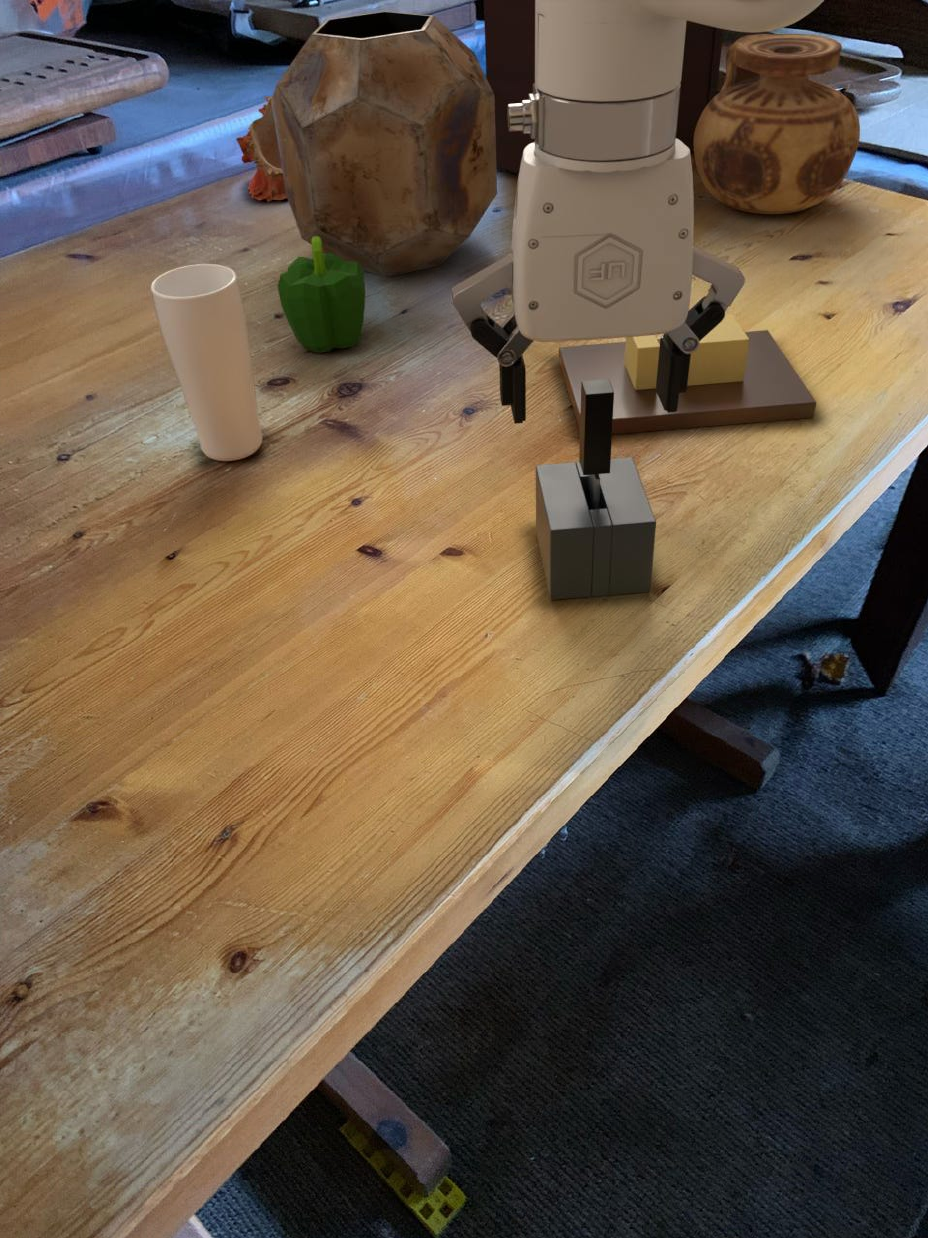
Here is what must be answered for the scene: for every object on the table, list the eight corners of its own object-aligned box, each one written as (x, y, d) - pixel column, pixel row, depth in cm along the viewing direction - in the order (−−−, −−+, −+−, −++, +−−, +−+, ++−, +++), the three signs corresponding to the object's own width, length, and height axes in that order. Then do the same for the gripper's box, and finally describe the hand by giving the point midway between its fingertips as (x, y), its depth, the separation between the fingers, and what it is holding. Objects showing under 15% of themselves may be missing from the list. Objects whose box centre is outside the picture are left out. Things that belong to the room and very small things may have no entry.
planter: (532, 236, 120) (530, 8, 105) (403, 313, 106) (378, 61, 90) (391, 206, 131) (369, -6, 115) (256, 271, 117) (212, 40, 101)
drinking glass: (239, 476, 84) (198, 304, 74) (177, 458, 87) (130, 289, 77) (287, 437, 88) (255, 269, 78) (227, 421, 91) (188, 257, 81)
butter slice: (645, 362, 92) (648, 320, 89) (657, 388, 88) (661, 346, 85) (624, 364, 92) (626, 322, 89) (635, 390, 88) (637, 348, 85)
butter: (728, 355, 92) (733, 313, 89) (743, 381, 88) (749, 338, 86) (663, 360, 92) (666, 319, 89) (675, 387, 88) (679, 344, 86)
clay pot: (892, 167, 123) (895, 5, 107) (801, 268, 119) (790, 115, 103) (760, 137, 134) (745, -15, 118) (673, 228, 130) (645, 85, 114)
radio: (711, 147, 142) (743, -167, 119) (575, 196, 130) (581, -142, 107) (614, 122, 153) (626, -169, 130) (481, 165, 141) (468, -147, 118)
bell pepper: (357, 364, 98) (344, 263, 91) (278, 359, 100) (259, 259, 93) (382, 326, 104) (371, 229, 97) (307, 322, 106) (292, 226, 99)
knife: (599, 547, 74) (607, 374, 65) (606, 573, 72) (615, 396, 62) (575, 549, 74) (579, 376, 65) (581, 575, 72) (587, 399, 62)
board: (765, 344, 96) (767, 329, 95) (813, 417, 86) (817, 402, 85) (558, 361, 96) (558, 346, 95) (581, 437, 86) (581, 421, 85)
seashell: (225, 208, 138) (316, 215, 133) (201, 126, 131) (296, 129, 125) (291, 160, 149) (378, 164, 143) (272, 81, 141) (363, 82, 136)
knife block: (628, 524, 76) (632, 456, 72) (650, 592, 70) (656, 521, 66) (536, 532, 76) (535, 464, 72) (550, 600, 70) (550, 530, 66)
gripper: (447, 154, 50) (461, 448, 62) (788, 131, 51) (740, 427, 62) (439, 112, 56) (454, 388, 67) (746, 91, 56) (710, 370, 68)
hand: (591, 407), depth 65 cm, fingers open, 9 cm apart
